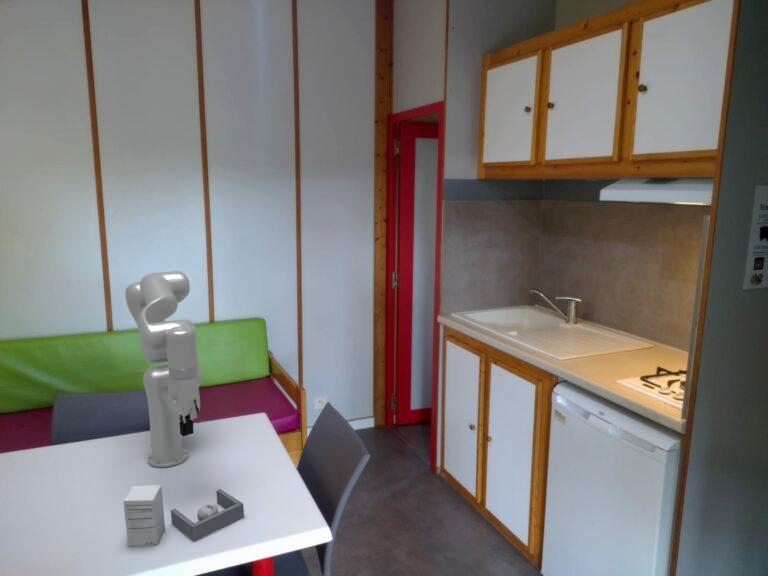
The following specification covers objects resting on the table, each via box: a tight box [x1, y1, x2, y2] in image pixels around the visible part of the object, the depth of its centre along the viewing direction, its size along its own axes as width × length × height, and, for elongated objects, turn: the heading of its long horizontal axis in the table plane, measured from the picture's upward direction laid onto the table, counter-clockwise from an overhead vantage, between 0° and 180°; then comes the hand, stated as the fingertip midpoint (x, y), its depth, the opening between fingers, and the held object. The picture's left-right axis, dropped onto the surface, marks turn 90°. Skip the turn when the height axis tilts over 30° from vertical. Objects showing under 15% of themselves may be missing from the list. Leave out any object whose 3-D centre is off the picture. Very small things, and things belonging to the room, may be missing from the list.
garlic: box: [196, 503, 219, 522], centre depth 154 cm, size 6×5×5 cm
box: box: [170, 488, 245, 542], centre depth 155 cm, size 11×15×4 cm
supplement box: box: [123, 484, 166, 547], centre depth 147 cm, size 7×7×13 cm
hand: (187, 433), depth 162 cm, fingers closed
